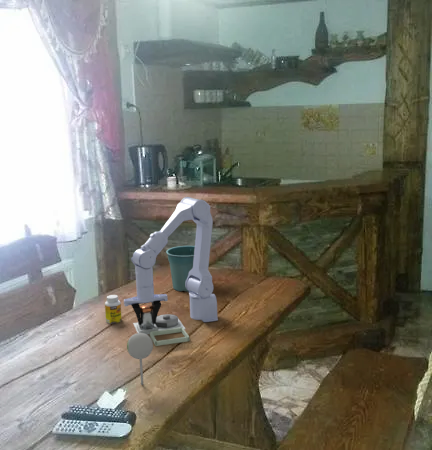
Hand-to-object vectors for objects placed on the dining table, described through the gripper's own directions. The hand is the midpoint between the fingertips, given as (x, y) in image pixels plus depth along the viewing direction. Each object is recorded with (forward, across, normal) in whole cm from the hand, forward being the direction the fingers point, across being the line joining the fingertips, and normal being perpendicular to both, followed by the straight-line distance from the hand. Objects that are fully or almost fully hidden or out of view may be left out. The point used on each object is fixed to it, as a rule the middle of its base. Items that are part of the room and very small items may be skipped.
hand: (147, 323), depth 205 cm
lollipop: (+4, +8, +36) cm, 38 cm away
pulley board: (+4, -4, -2) cm, 6 cm away
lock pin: (+2, 0, 0) cm, 2 cm away
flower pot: (+4, -26, -44) cm, 51 cm away
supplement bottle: (+4, +10, -14) cm, 17 cm away
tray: (+4, -5, +10) cm, 12 cm away
